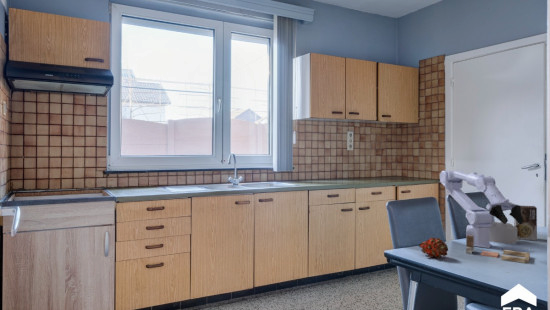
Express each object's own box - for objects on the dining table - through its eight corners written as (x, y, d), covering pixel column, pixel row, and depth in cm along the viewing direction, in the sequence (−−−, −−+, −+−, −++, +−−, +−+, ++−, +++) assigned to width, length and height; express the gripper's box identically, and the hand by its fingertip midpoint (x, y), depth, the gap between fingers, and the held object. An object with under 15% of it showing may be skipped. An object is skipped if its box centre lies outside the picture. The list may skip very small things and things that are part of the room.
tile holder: (500, 259, 156) (500, 255, 156) (503, 253, 165) (503, 249, 165) (528, 263, 151) (528, 259, 151) (529, 257, 160) (529, 253, 160)
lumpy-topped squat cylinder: (489, 237, 198) (489, 220, 197) (519, 241, 189) (519, 223, 189) (483, 240, 190) (484, 222, 190) (514, 244, 181) (515, 226, 181)
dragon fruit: (449, 264, 154) (420, 262, 163) (455, 248, 159) (427, 247, 168) (441, 249, 151) (412, 247, 160) (447, 233, 157) (419, 233, 165)
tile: (480, 256, 162) (480, 253, 162) (482, 253, 167) (482, 250, 167) (497, 259, 159) (497, 256, 159) (498, 255, 164) (498, 253, 164)
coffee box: (534, 238, 195) (535, 205, 195) (537, 241, 189) (537, 207, 189) (513, 236, 199) (513, 204, 199) (515, 239, 193) (515, 206, 193)
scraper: (465, 253, 166) (465, 236, 166) (468, 250, 170) (468, 234, 170) (471, 254, 164) (472, 237, 164) (474, 251, 169) (474, 235, 169)
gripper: (486, 191, 166) (504, 215, 155) (515, 192, 169) (534, 216, 158) (477, 202, 170) (494, 227, 160) (506, 203, 173) (525, 227, 163)
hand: (514, 222), depth 159 cm, fingers open, 7 cm apart
